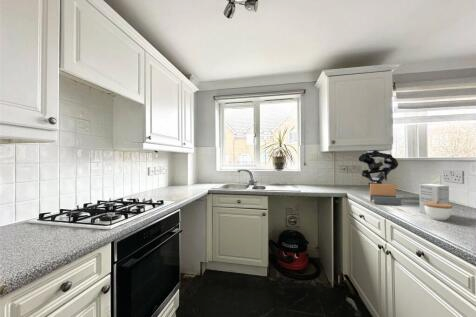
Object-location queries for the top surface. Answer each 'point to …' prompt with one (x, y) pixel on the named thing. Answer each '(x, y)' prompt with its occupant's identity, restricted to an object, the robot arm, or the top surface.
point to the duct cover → (383, 189)
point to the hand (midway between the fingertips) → (379, 181)
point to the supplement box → (433, 194)
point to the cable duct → (385, 200)
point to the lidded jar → (438, 210)
